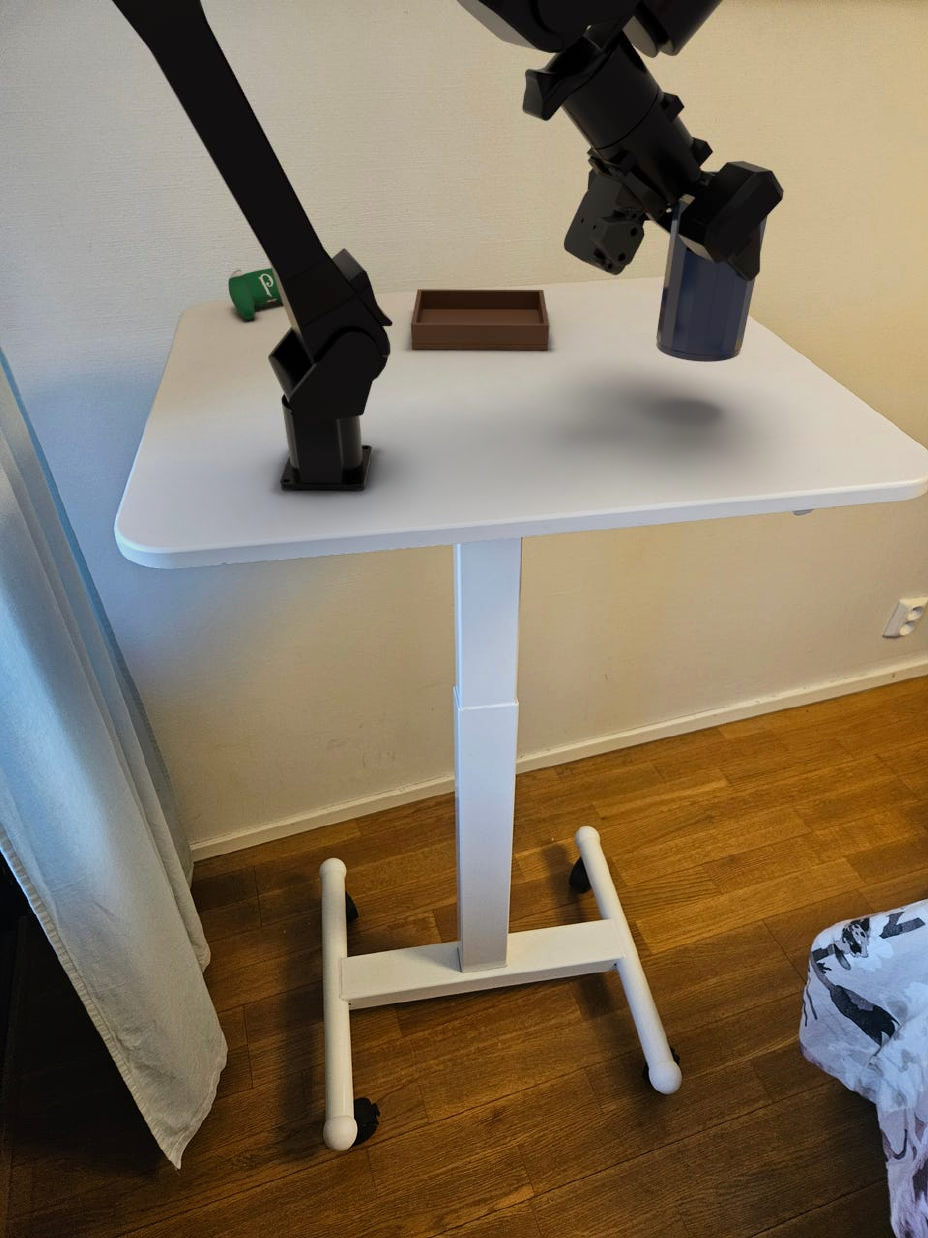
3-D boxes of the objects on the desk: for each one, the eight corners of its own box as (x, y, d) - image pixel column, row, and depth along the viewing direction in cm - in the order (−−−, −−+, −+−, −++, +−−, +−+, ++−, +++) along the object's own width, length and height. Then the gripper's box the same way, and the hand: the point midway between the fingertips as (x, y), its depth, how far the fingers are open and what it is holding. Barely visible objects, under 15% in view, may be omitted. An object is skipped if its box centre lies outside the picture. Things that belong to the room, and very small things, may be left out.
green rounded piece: (311, 315, 100) (290, 270, 100) (319, 298, 97) (297, 251, 97) (239, 333, 96) (216, 285, 96) (245, 315, 93) (222, 265, 93)
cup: (753, 360, 70) (789, 186, 62) (668, 363, 70) (694, 187, 62) (724, 333, 76) (754, 170, 68) (646, 335, 75) (667, 171, 68)
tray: (547, 350, 87) (549, 324, 86) (411, 349, 87) (410, 324, 86) (542, 313, 96) (543, 289, 94) (418, 312, 96) (417, 288, 94)
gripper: (495, 181, 68) (603, 305, 78) (602, 243, 54) (717, 383, 64) (592, 61, 65) (692, 205, 75) (732, 94, 52) (831, 265, 62)
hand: (726, 262), depth 69 cm, fingers closed on cup, 7 cm apart
